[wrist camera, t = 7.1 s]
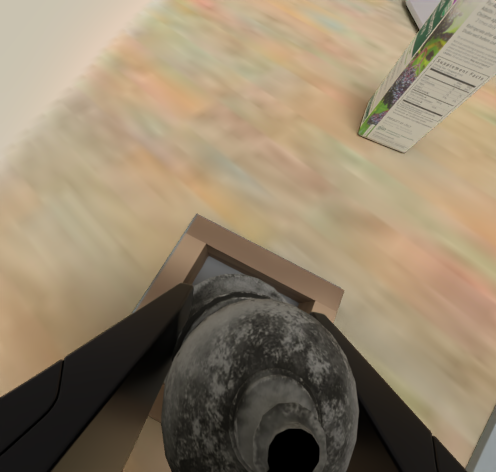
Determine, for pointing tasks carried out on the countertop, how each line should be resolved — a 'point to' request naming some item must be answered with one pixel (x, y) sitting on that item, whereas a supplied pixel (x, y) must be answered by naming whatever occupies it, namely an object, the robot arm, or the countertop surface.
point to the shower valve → (485, 449)
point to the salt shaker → (256, 386)
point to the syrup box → (434, 73)
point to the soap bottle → (421, 10)
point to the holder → (237, 262)
